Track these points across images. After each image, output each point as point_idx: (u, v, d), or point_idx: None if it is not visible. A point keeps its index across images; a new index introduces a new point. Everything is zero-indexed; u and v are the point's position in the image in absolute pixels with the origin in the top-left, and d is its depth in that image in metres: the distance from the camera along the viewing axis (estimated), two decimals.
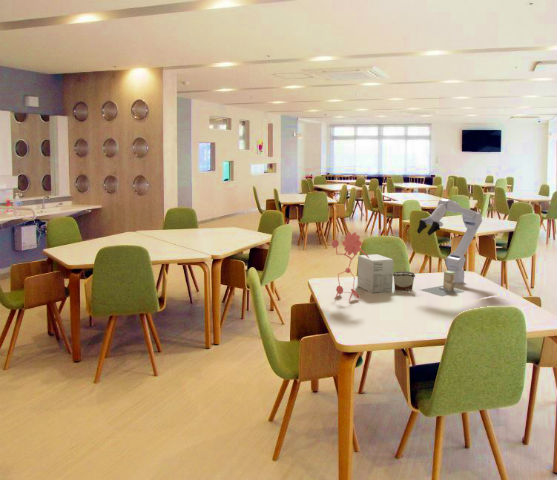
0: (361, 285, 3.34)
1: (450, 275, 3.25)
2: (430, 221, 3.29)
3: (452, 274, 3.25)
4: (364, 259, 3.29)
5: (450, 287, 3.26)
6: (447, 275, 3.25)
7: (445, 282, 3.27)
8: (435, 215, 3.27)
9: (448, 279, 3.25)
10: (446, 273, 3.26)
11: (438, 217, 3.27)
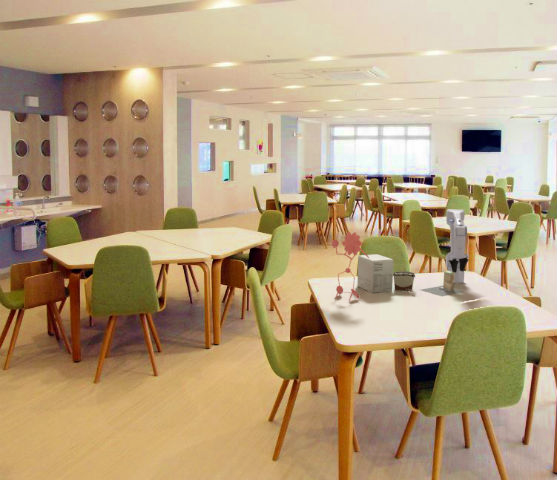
0: (361, 285, 3.34)
1: (450, 275, 3.25)
2: None
3: (452, 274, 3.25)
4: (364, 259, 3.29)
5: (450, 287, 3.26)
6: (447, 275, 3.25)
7: (445, 282, 3.27)
8: (464, 251, 3.27)
9: (448, 279, 3.25)
10: (446, 273, 3.26)
11: None
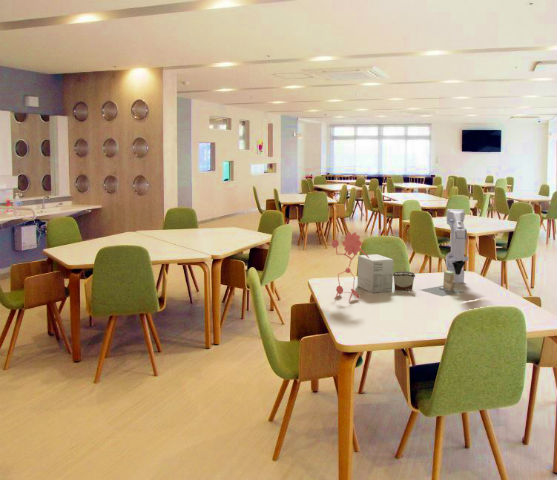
0: (361, 285, 3.34)
1: (450, 275, 3.25)
2: None
3: (452, 274, 3.25)
4: (364, 259, 3.29)
5: (450, 287, 3.26)
6: (447, 275, 3.25)
7: (445, 282, 3.27)
8: None
9: (448, 279, 3.25)
10: (446, 273, 3.26)
11: None
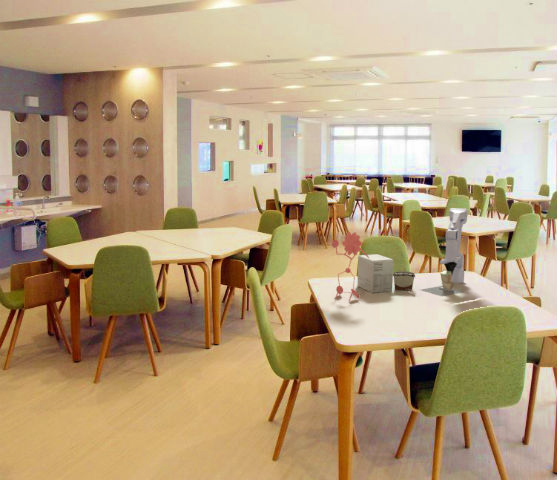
0: (361, 285, 3.34)
1: (447, 276, 3.23)
2: None
3: (449, 274, 3.24)
4: (364, 259, 3.29)
5: (449, 287, 3.26)
6: (444, 277, 3.24)
7: (443, 283, 3.26)
8: (456, 254, 3.24)
9: (446, 280, 3.24)
10: (442, 274, 3.24)
11: None
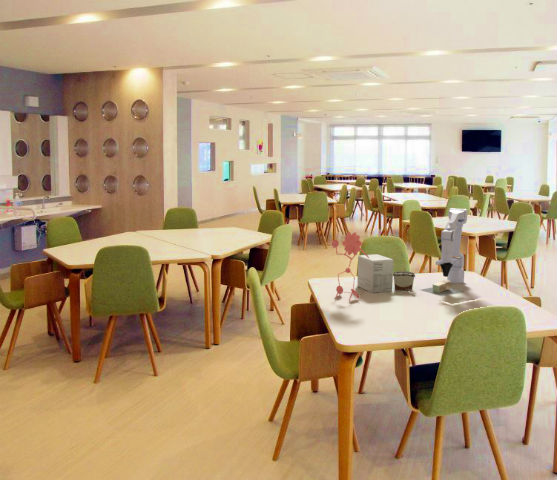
0: (361, 285, 3.34)
1: (440, 290, 3.22)
2: None
3: (439, 288, 3.21)
4: (364, 259, 3.29)
5: (448, 286, 3.25)
6: None
7: None
8: (452, 255, 3.22)
9: None
10: None
11: None
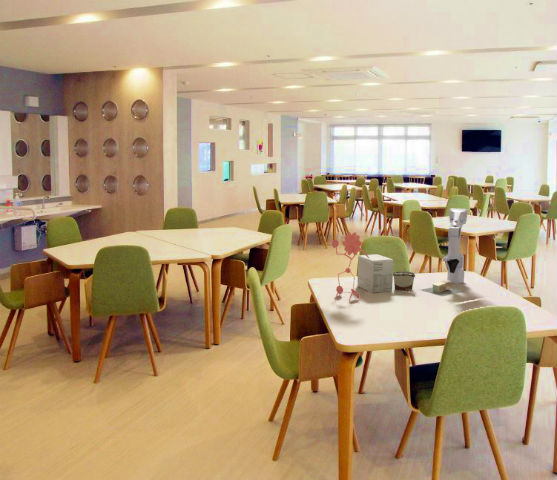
0: (361, 285, 3.34)
1: (440, 290, 3.22)
2: None
3: (439, 288, 3.21)
4: (364, 259, 3.29)
5: (448, 286, 3.25)
6: None
7: None
8: (458, 252, 3.25)
9: None
10: None
11: None
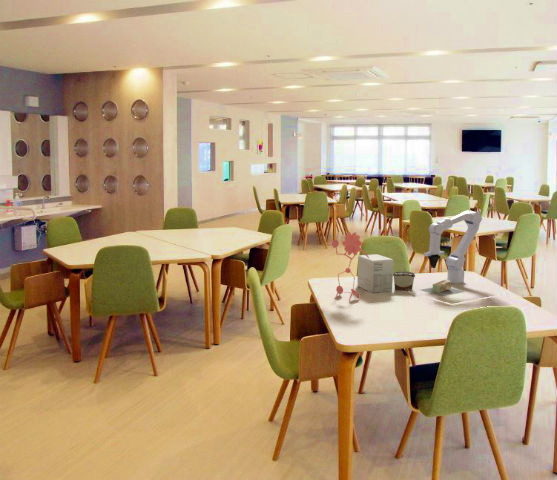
0: (361, 285, 3.34)
1: (440, 290, 3.22)
2: None
3: (439, 288, 3.21)
4: (364, 259, 3.29)
5: (448, 286, 3.25)
6: None
7: None
8: (439, 247, 3.37)
9: None
10: None
11: None
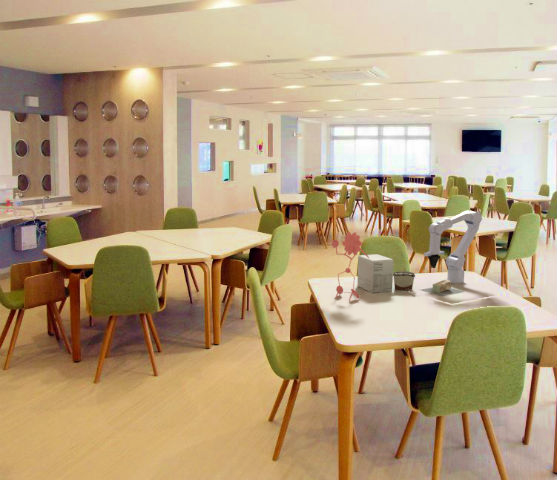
0: (361, 285, 3.34)
1: (440, 290, 3.22)
2: None
3: (439, 288, 3.21)
4: (364, 259, 3.29)
5: (448, 286, 3.25)
6: None
7: None
8: (439, 247, 3.37)
9: None
10: None
11: None
